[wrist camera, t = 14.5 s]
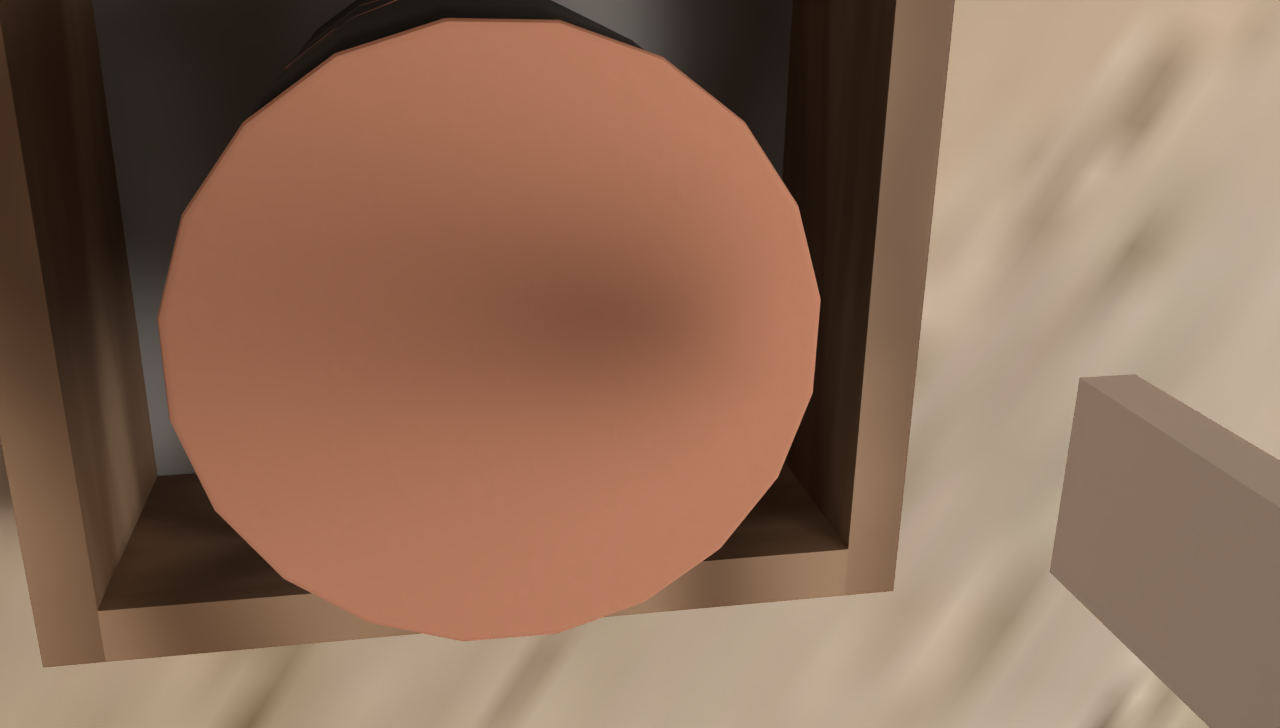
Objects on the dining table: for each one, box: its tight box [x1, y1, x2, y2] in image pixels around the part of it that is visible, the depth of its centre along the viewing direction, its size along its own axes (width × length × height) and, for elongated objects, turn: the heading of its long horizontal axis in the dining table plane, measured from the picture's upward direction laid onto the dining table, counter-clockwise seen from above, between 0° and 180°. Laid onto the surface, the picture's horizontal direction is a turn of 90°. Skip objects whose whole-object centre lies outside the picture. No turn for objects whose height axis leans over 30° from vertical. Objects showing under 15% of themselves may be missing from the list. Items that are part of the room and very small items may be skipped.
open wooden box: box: [0, 0, 955, 667], centre depth 32 cm, size 23×23×9 cm
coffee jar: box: [157, 0, 821, 641], centre depth 27 cm, size 11×11×18 cm
